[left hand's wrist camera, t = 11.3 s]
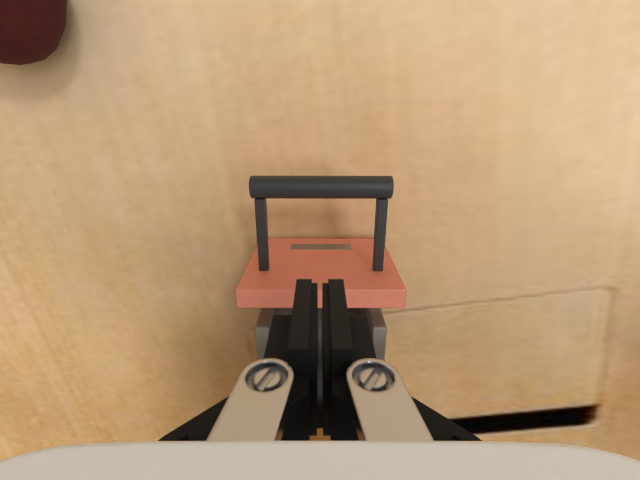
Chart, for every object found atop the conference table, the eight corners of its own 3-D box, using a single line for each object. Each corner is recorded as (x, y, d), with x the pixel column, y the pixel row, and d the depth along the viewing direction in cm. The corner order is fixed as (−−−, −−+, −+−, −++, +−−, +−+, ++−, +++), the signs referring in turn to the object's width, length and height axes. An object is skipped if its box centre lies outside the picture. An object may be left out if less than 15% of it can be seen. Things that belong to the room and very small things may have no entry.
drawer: (255, 162, 25) (225, 185, 18) (386, 162, 25) (417, 185, 18) (270, 411, 34) (254, 505, 26) (370, 412, 34) (385, 505, 26)
